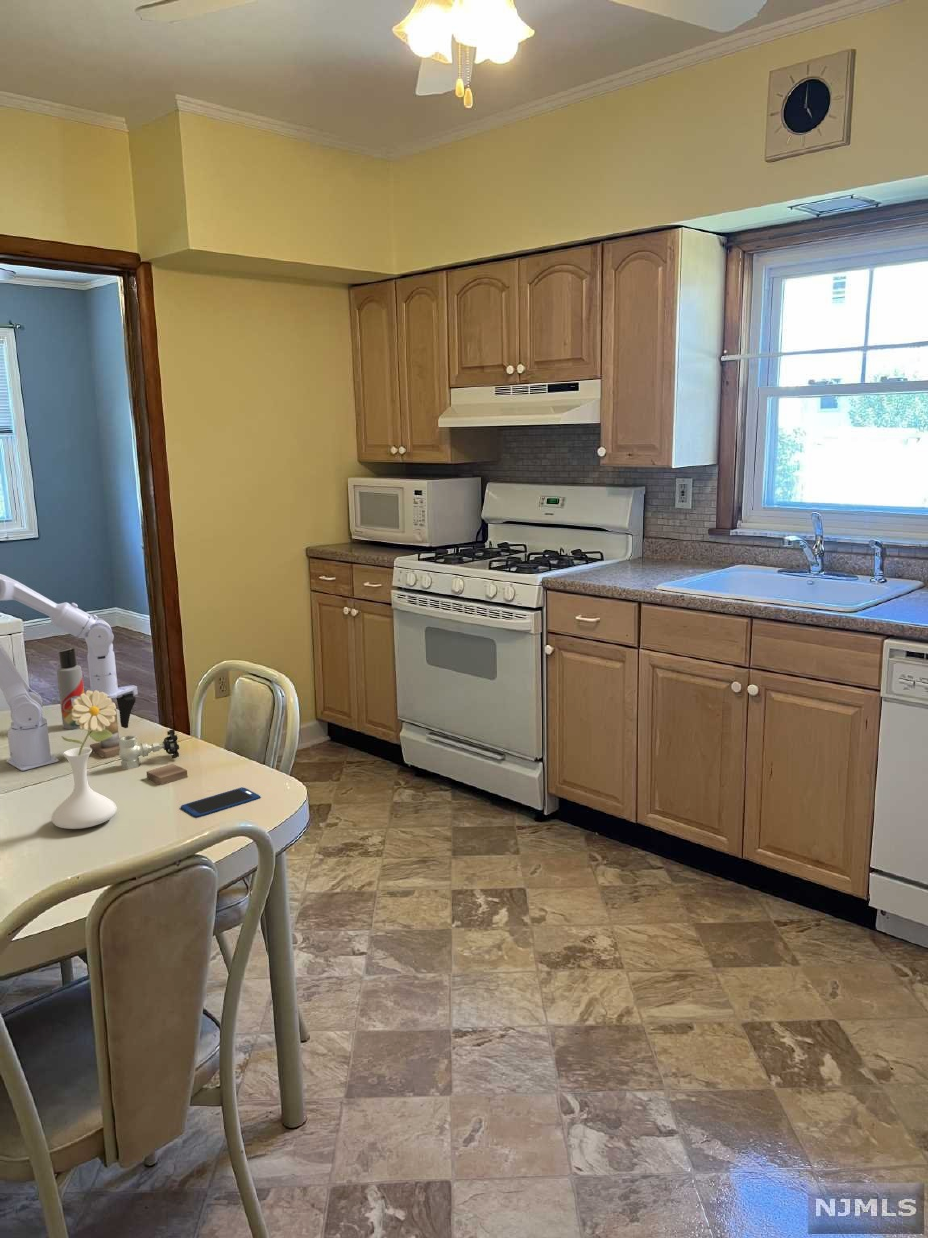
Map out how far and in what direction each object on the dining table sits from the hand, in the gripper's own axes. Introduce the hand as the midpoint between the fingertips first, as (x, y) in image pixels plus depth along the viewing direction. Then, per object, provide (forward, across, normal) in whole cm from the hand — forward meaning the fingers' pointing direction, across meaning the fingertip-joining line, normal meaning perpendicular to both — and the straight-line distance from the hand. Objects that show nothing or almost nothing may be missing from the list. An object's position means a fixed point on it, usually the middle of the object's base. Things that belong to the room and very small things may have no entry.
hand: (108, 731), depth 210 cm
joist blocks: (+5, 0, -14) cm, 14 cm away
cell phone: (+5, 0, -47) cm, 47 cm away
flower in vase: (+5, -21, -36) cm, 42 cm away
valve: (+5, +2, -14) cm, 15 cm away
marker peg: (+3, 0, 0) cm, 3 cm away
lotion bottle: (+5, +3, +26) cm, 27 cm away
